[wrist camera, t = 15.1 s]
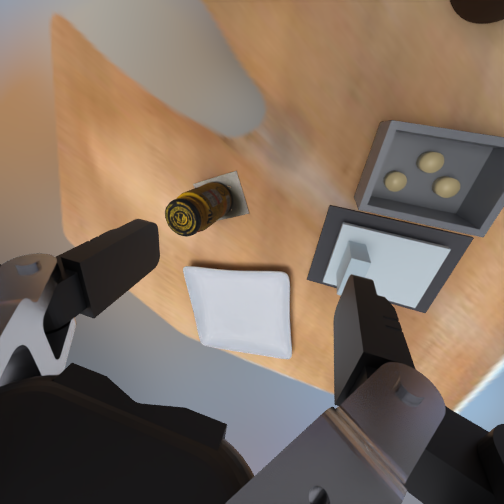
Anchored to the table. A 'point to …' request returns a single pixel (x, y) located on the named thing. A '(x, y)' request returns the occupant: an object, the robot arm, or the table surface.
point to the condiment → (206, 205)
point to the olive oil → (479, 10)
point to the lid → (385, 262)
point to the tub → (434, 177)
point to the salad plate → (241, 310)
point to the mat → (410, 230)
